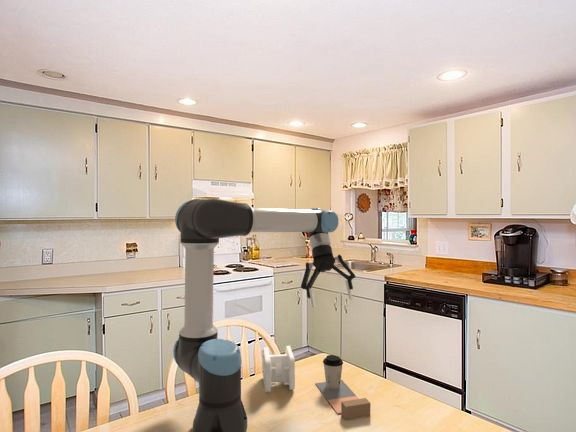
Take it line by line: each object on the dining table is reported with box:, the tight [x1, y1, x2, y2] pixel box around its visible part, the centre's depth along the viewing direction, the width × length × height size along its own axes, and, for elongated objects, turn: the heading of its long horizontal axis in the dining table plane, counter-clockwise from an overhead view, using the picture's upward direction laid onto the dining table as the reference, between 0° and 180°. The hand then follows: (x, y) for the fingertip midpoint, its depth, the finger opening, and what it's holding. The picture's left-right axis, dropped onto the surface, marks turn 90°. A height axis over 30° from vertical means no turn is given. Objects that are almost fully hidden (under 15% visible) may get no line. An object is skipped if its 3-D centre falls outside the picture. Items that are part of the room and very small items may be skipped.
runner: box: [315, 379, 371, 421], centre depth 122 cm, size 24×10×4 cm, turn 15°
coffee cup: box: [322, 354, 344, 390], centre depth 129 cm, size 7×7×10 cm
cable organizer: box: [261, 345, 296, 393], centre depth 131 cm, size 15×11×12 cm
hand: (332, 303), depth 134 cm, fingers open, 13 cm apart
